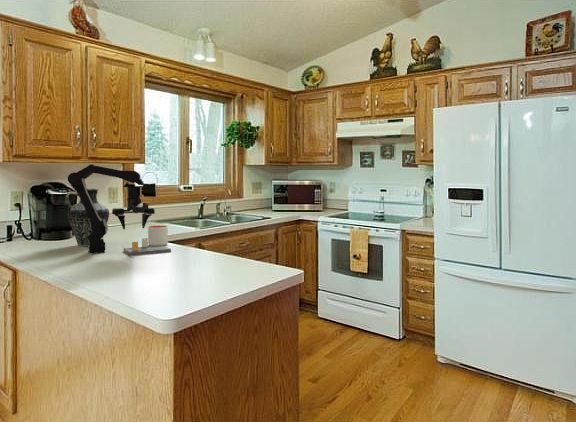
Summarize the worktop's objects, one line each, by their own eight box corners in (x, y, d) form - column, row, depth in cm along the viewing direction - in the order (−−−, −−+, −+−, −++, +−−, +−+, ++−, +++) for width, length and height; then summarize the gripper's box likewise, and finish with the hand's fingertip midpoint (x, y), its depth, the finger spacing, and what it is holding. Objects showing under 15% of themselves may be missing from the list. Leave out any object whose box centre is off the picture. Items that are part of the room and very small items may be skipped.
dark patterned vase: (98, 241, 224) (96, 187, 221) (117, 244, 212) (115, 188, 210) (59, 245, 207) (57, 188, 204) (78, 250, 196) (76, 189, 193)
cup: (162, 247, 206) (161, 228, 206) (144, 246, 208) (144, 227, 208) (171, 244, 216) (171, 225, 215) (154, 243, 218) (154, 225, 217)
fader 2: (142, 247, 195) (142, 238, 195) (141, 246, 197) (141, 238, 196) (147, 246, 197) (147, 238, 196) (146, 246, 198) (146, 237, 198)
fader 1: (133, 250, 185) (132, 242, 185) (132, 250, 186) (131, 241, 186) (138, 250, 186) (138, 241, 186) (137, 249, 188) (137, 241, 187)
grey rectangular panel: (129, 255, 183) (129, 252, 183) (123, 251, 193) (123, 248, 193) (170, 251, 193) (170, 248, 193) (162, 247, 204) (162, 244, 204)
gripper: (119, 197, 180) (119, 231, 182) (159, 197, 193) (159, 229, 194) (111, 196, 189) (111, 229, 190) (150, 196, 201) (150, 227, 202)
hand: (133, 228), depth 194 cm, fingers open, 9 cm apart
